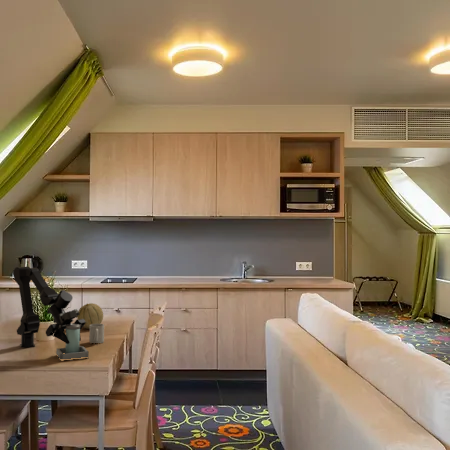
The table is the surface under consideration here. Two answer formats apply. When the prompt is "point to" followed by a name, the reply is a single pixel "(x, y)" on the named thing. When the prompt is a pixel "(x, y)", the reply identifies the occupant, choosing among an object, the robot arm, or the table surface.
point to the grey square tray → (81, 353)
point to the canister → (72, 338)
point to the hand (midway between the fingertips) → (74, 342)
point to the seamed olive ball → (90, 314)
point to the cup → (96, 333)
